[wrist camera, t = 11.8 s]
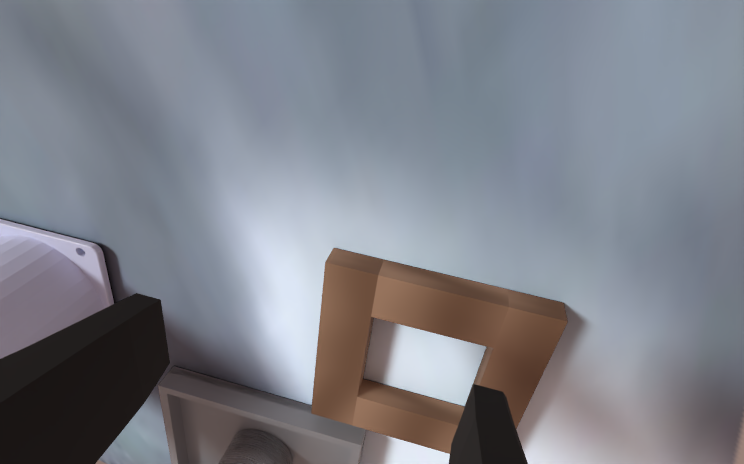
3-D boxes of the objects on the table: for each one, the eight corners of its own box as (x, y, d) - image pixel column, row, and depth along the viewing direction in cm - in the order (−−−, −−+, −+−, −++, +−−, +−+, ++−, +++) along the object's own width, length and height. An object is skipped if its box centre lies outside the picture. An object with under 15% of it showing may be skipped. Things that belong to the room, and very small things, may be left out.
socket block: (318, 395, 25) (311, 413, 24) (333, 247, 20) (325, 262, 19) (497, 446, 24) (497, 467, 23) (563, 302, 19) (567, 321, 18)
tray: (187, 463, 32) (174, 483, 30) (173, 365, 27) (157, 385, 25) (349, 514, 30) (343, 537, 29) (367, 421, 25) (361, 445, 24)
